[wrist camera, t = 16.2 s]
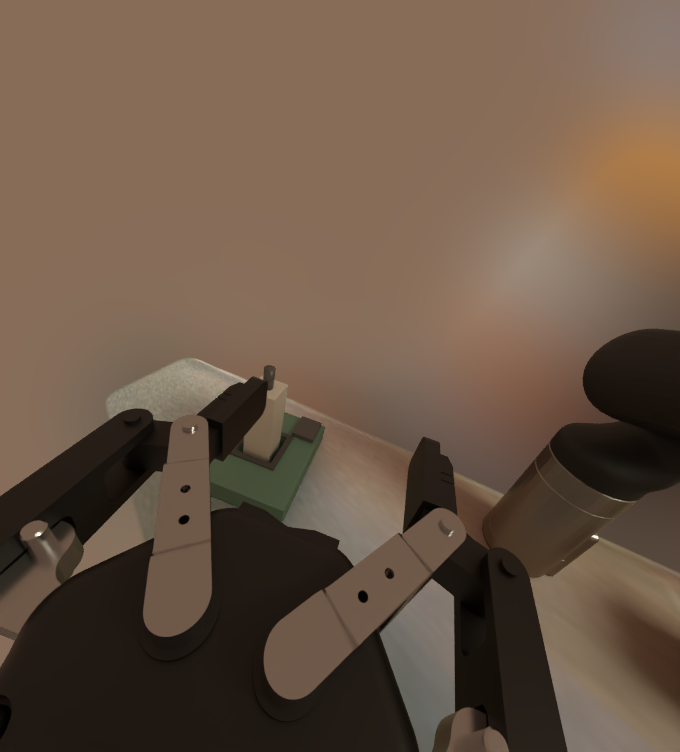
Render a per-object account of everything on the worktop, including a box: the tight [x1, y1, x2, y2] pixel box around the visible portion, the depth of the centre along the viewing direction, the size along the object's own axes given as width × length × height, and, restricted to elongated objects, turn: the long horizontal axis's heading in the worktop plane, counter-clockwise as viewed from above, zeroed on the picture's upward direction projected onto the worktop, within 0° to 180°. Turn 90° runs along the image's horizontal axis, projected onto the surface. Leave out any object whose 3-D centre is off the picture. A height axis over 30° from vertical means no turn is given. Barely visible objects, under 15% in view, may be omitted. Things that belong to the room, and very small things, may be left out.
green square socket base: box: [210, 412, 325, 522], centre depth 44 cm, size 15×17×4 cm
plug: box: [243, 365, 288, 463], centre depth 41 cm, size 4×4×17 cm
